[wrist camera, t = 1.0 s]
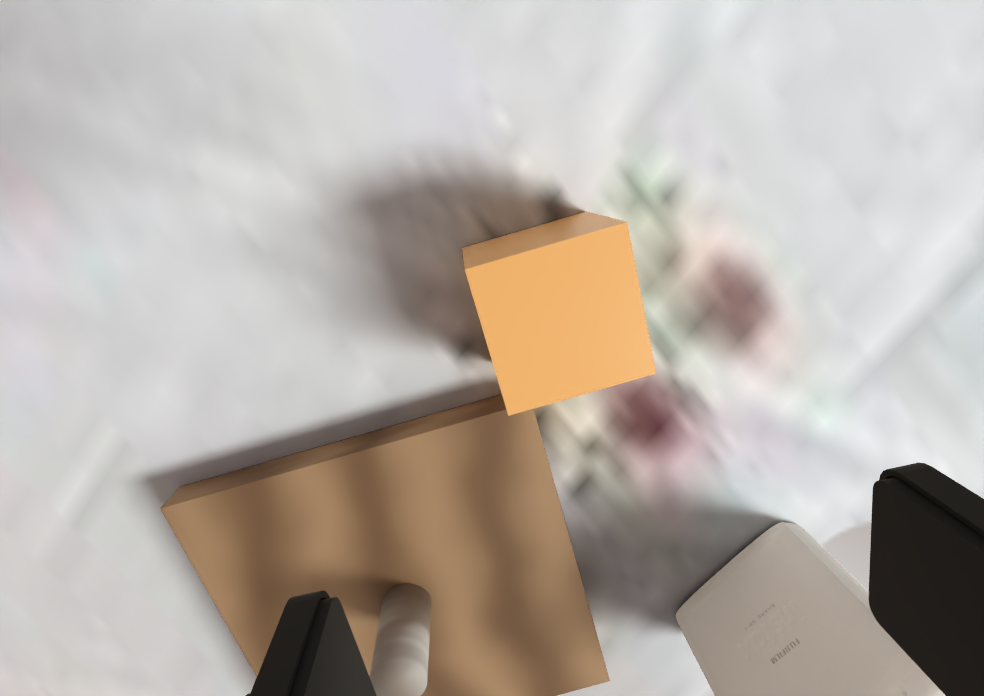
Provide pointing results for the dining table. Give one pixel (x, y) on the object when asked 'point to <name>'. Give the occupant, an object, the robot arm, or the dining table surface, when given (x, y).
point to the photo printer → (793, 627)
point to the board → (407, 554)
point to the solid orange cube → (560, 309)
